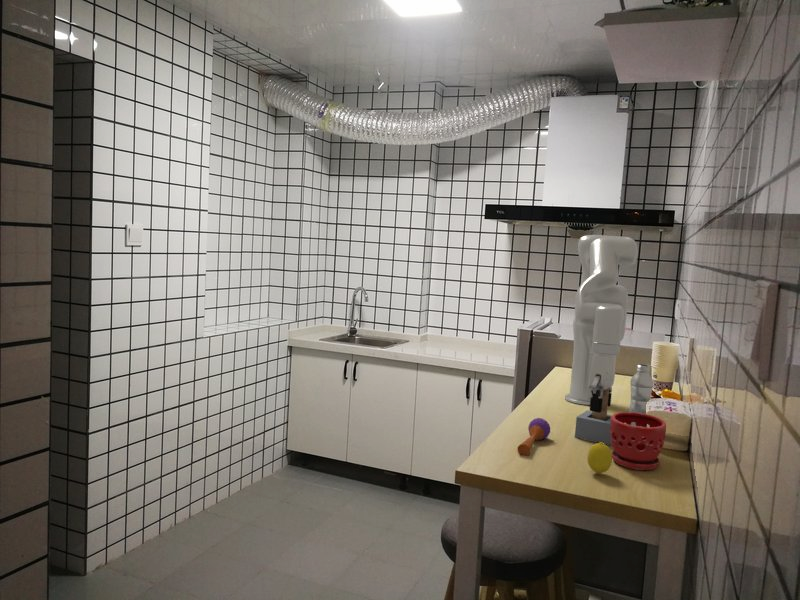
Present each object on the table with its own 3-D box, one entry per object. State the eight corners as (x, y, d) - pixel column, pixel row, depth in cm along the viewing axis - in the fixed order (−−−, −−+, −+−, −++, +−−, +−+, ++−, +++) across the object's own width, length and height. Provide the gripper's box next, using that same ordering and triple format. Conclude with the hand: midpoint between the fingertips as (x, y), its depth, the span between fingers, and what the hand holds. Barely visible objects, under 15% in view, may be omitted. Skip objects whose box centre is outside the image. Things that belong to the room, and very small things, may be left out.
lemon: (613, 475, 146) (617, 442, 146) (604, 480, 142) (607, 447, 142) (592, 468, 150) (595, 436, 149) (582, 473, 146) (585, 441, 145)
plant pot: (603, 452, 163) (607, 409, 161) (654, 458, 160) (659, 414, 159) (611, 470, 150) (616, 422, 149) (667, 477, 148) (672, 428, 146)
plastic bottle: (651, 433, 183) (657, 368, 181) (627, 430, 184) (634, 366, 183) (647, 427, 189) (653, 364, 188) (624, 424, 191) (630, 362, 189)
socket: (585, 429, 183) (587, 410, 182) (619, 437, 177) (621, 417, 177) (574, 437, 175) (576, 416, 174) (610, 445, 169) (612, 424, 169)
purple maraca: (511, 438, 157) (530, 415, 175) (513, 461, 158) (532, 435, 176) (533, 439, 155) (550, 415, 172) (536, 461, 155) (553, 435, 173)
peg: (592, 429, 179) (597, 382, 178) (606, 432, 177) (611, 384, 175) (588, 431, 175) (593, 384, 174) (602, 435, 173) (607, 386, 172)
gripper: (601, 344, 183) (596, 400, 184) (583, 350, 169) (577, 411, 170) (627, 347, 179) (621, 405, 180) (610, 354, 164) (604, 417, 166)
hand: (600, 408), depth 175 cm, fingers open, 8 cm apart
